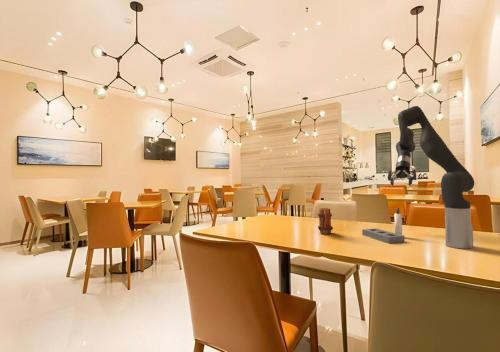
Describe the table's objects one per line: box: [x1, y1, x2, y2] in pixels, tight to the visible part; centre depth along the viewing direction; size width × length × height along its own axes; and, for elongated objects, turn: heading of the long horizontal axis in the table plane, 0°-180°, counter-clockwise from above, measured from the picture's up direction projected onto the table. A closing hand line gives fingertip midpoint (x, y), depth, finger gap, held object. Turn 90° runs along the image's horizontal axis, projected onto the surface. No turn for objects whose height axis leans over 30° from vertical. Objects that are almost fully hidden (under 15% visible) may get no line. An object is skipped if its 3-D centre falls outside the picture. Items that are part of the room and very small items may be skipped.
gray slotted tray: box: [361, 227, 406, 244], centre depth 140 cm, size 9×20×3 cm, turn 13°
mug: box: [317, 207, 334, 235], centre depth 152 cm, size 15×8×15 cm, turn 172°
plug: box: [393, 207, 403, 235], centre depth 142 cm, size 3×3×15 cm
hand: (400, 184), depth 151 cm, fingers open, 8 cm apart
